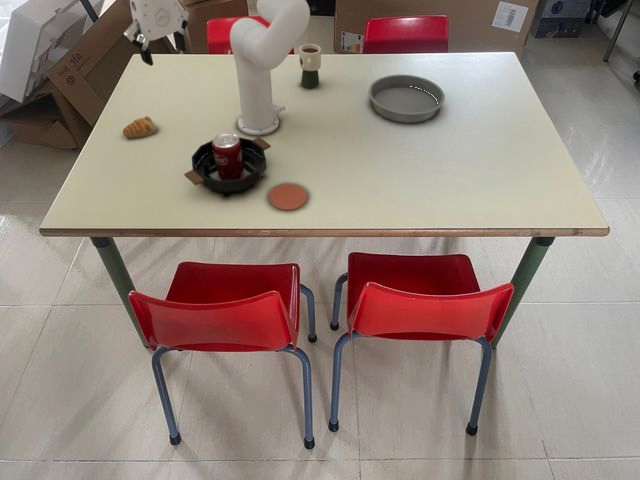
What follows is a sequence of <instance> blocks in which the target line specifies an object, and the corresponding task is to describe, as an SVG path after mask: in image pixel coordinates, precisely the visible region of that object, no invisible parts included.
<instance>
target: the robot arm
mask: <svg viewBox="0 0 640 480" xmlns="http://www.w3.org/2000/svg"><path fill="white" fill-rule="evenodd" d="M129 5H130V11H131V16H132V17H131V18H132V21H133V22H132V23H131V24H130V25H129V26H128V27H127V29H126V30H125V31H124V32H123V36H124V37H125V38H126V40H127V41H128V42H129V43H130V44H131V45H133V46H134V47H136V48H138V51H139V55H140V58H141V61H142V62H143V63H145V64H146V65H148V66H150V67H152V66H154V61H153V56H152V53H151V50H150V48H148V47H149V43H150V41H151V42H153V41H156V40H159V39H161V38H164V37H167V36H169V35H171V34H172V36H173V40H174V44H175V48H176V49H178V50H179V51H181V52H184V53H185V52H187V49H186V40H185V35H186V29H187V26H188V25H189V24H188V20H189V16H190V15H189V14H190V13H189V11H187V10H185V9H182V8H179V6H178V3H177V0H129ZM256 11H257V14H258V15H259V16H260V17H261V18H262V19H263V20H264V21H265V22H267V23H268V24H269V26H268V27H267V26H266V25H265V24H263V23H261V22H259V21H258V20H256V19H255V18H251V17H242V18H239V19H237V20H236V21H235V22H234V23H233V24H232V26H231V28H230V31H229V45H230V48H231V51H232V55H233V60H234V63H235V68H236V75H237V83H238V84H237V85H238V92H239V93H238V94H239V102H240V110H241V115H240V116H239V117H238V119H237V127H238V129H239V130H240V131H241V132H243V133H245V134H247V135H250V136H264V135H268V134H270V133H273V132H274V131H275V130H276V129H278V127H279V126H280V125H279V123H280V120H279V117H278V116H277V115H279V113H281V112H283V111H286V106H285V104H283V103H282V104H281V103H280V104H278V105H277V103H276V102H274V103H273V90H272V72H271V71H272V70H274V69H276V68H278V67H279V66H280V65H281V64H282V63H283V62H284V61H285V59H286V58H287V56H288V55H289V54H290V52H291V51H292V50H293V48H294V47H295V46H296V44H297V43H298V41H299V40H300V39H301V37H302V35H303V34H304V33H305V31H306V30H307V28H308V25H309V22H310V18H311V9H310V6H309V3H308V1H306V0H257V1H256ZM135 34H137V38H135Z"/></svg>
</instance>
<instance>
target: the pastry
mask: <svg viewBox="0 0 640 480" xmlns="http://www.w3.org/2000/svg"><path fill="white" fill-rule="evenodd" d="M156 132H157V126H156V125H155V123H154V121H153V120H152V118H151V117H150V116H148V115H145V116H144V117H141V118H136V119H134V120H133V121H132V122H131V123H129V124H128V125H126V126H125V127H124V128H123V130H122V134H123V136H124V137H126V138H128V139H136V138H143V137H146V136H147V137H148V135H153V134H155V133H156Z"/></svg>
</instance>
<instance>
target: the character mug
mask: <svg viewBox="0 0 640 480" xmlns="http://www.w3.org/2000/svg"><path fill="white" fill-rule="evenodd" d="M298 52H299V58H298V59H299V67H300V69H302V73H301V79H300V80H301V82H300V85H301V86H302V87H303V88H305V89H306V88H309V89H310V88H316V87H318V86H320V75H319V70H320V69H321V66H322V48H321V46H319V45H318V44H314V43H306V44H303V45H300V46H299V51H298Z"/></svg>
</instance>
